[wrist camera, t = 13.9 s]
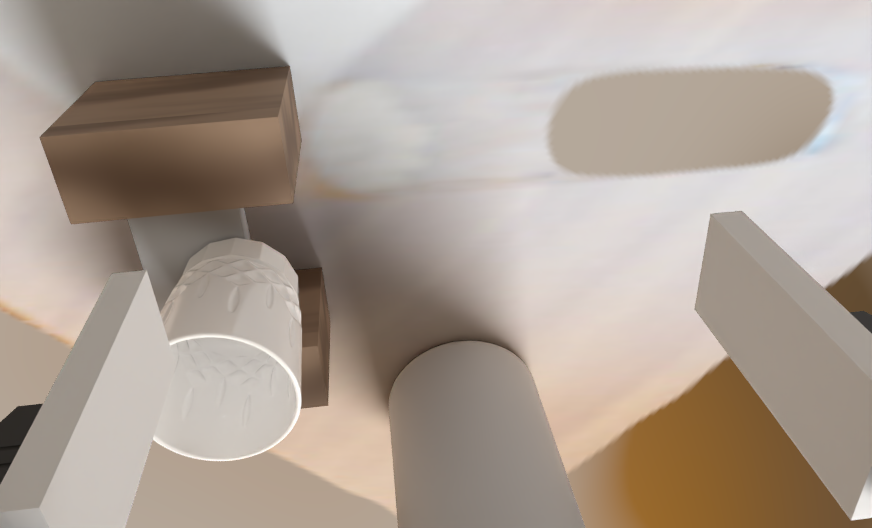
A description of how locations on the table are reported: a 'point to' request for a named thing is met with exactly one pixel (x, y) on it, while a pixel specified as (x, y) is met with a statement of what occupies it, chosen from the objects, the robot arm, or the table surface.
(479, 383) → the cylinder vase
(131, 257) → the table surface
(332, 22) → the table surface
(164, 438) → the white cup
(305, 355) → the shelf
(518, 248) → the table surface
